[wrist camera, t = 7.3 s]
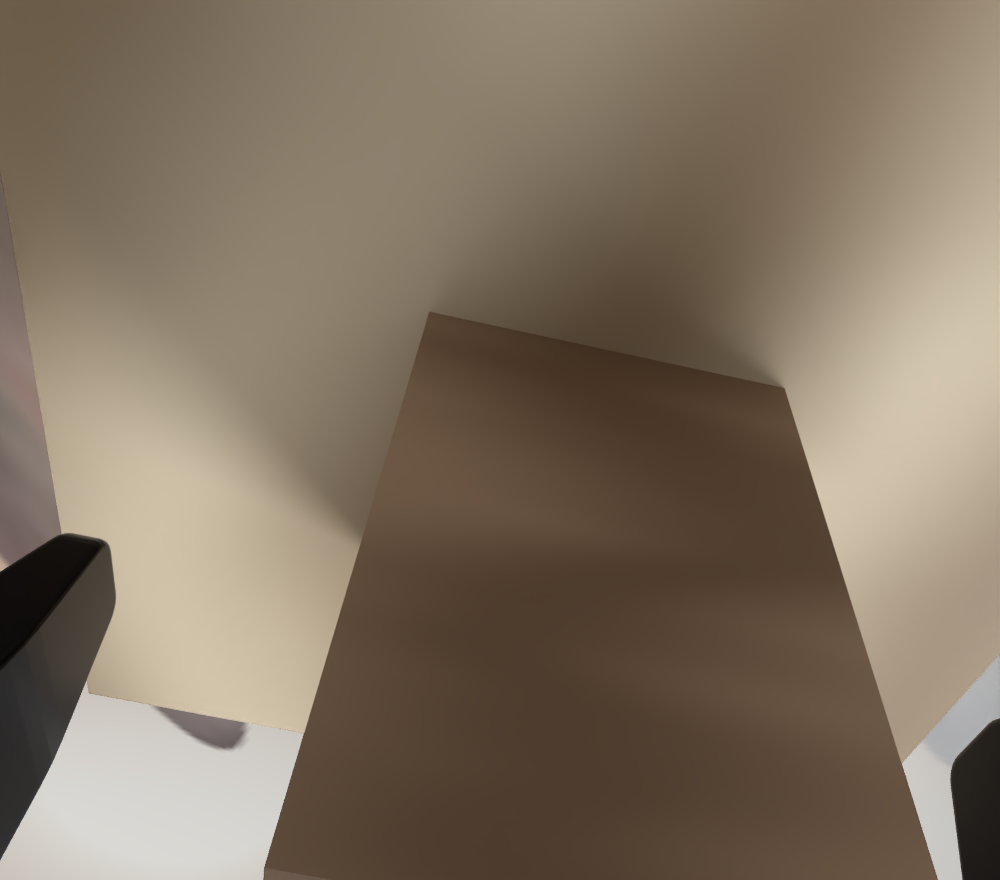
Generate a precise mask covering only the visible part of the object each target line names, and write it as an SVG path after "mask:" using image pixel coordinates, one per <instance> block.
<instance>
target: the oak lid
mask: <svg viewBox="0 0 1000 880" xmlns="http://www.w3.org/2000/svg"><path fill="white" fill-rule="evenodd" d="M0 172H1V178H2V184H3V190H4V195H5V201H6V207H7V213H8V219H9V225H10V231H11V237H12V243H13V249H14V254H15V260H16V266H17V272H18V278H19V284H20V290H21V296H22V302H23V308H24V313H25V319H26V325H27V331H28V337H29V343H30V349H31V355H32V361H33V367H34V372H35V378H36V384H37V390H38V396H39V402H40V408H41V414H42V420H43V426H44V431H45V437H46V443H47V449H48V455H49V461H50V467H51V473H52V479H53V485H54V490H55V496H56V502H57V508H58V514H59V520H60V526H61V532H62V534H64V533H74V534H79V535H84V536H90V537H95V538H100V539H102V540H105V541H106V542H107V543H108V545H109V546H110V550H111V556H112V564H113V572H114V581H115V589H116V604H115V609H114V613H113V616H112V619H111V622H110V624H109V626H108V629H107V631H106V634H105V636H104V639H103V641H102V644H101V646H100V649H99V651H98V653H97V656H96V658H95V661H94V663H93V666H92V668H91V671H90V673H89V676H88V678H87V685H88V691H89V693H90V694H95V695H100V696H107V697H111V698H116V699H123V700H127V701H133V702H138V703H143V704H149V705H154V706H159V707H165V708H170V709H176V710H181V711H186V712H192V713H197V714H202V715H208V716H213V717H219V718H224V719H229V720H235V721H240V722H245V723H251V724H256V725H262V726H267V727H272V728H278V729H283V730H288V731H294V732H299V733H304V736H303V739H302V742H301V746H300V749H299V753H298V756H297V759H296V762H295V766H294V769H293V773H292V776H291V779H290V783H289V786H288V790H287V793H286V796H285V799H284V803H283V806H282V810H281V813H280V817H279V820H278V823H277V827H276V830H275V833H274V837H273V840H272V843H271V847H270V850H269V853H268V857H267V860H266V864H265V867H264V880H938V879H937V875H936V872H935V869H934V866H933V863H932V859H931V856H930V853H929V850H928V847H927V843H926V840H925V837H924V834H923V830H922V827H921V824H920V821H919V818H918V814H917V812H916V808H915V805H914V802H913V798H912V795H911V792H910V789H909V786H908V782H907V779H906V776H905V773H904V770H903V766H902V763H903V761H904V760H905V759H906V758H907V757H908V756H909V755H910V754H911V752H912V751H913V750H914V749H915V748H916V747H917V746H918V745H919V744H920V743H921V741H922V740H923V739H924V738H925V737H926V736H927V735H928V734H929V732H930V731H931V730H932V729H933V728H934V727H935V726H936V725H937V724H938V722H939V721H940V720H941V719H942V718H943V717H944V716H945V715H946V714H947V712H948V711H949V710H950V709H951V708H952V707H953V706H954V705H955V704H956V702H957V701H958V700H959V699H960V698H961V697H962V696H963V695H964V693H965V692H966V691H967V690H968V689H969V688H970V687H971V686H972V685H973V683H974V682H975V681H976V680H977V679H978V678H979V677H980V676H981V675H982V673H983V672H984V671H985V670H986V669H987V668H988V667H989V666H990V665H991V663H992V662H993V661H994V660H995V659H996V658H997V657H998V656H999V654H1000V0H0Z"/></svg>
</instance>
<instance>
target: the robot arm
mask: <svg viewBox="0 0 1000 880" xmlns="http://www.w3.org/2000/svg"><path fill="white" fill-rule="evenodd" d="M115 604H116V589H115V581H114V572H113V564H112V556H111V550H110V546H109V545H108V543H107V542H106V541H105V540H102V539H100V538H95V537H90V536H84V535H79V534H74V533H64V534H61V535H58V536H56V537H54V538H53V539H51V540H50V541H48V542H46V543H45V544H43V545H42V546H40V547H38V548H37V549H35V550H34V551H32V552H31V553H29V554H27V555H26V556H24V557H23V558H21V559H20V560H18V561H16V562H15V563H13V564H12V565H10V566H8V567H7V568H5V569H4V570H2V571H1V572H0V860H1V858H2V856H3V854H4V852H5V850H6V849H7V847H8V845H9V843H10V841H11V839H12V838H13V836H14V834H15V832H16V830H17V828H18V826H19V825H20V823H21V821H22V819H23V817H24V815H25V814H26V812H27V810H28V808H29V806H30V804H31V802H32V801H33V799H34V797H35V795H36V793H37V791H38V790H39V788H40V786H41V784H42V782H43V780H44V778H45V776H46V774H47V772H48V770H49V768H50V766H51V764H52V762H53V760H54V758H55V755H56V753H57V751H58V748H59V746H60V744H61V742H62V739H63V737H64V734H65V732H66V730H67V727H68V724H69V722H70V720H71V717H72V715H73V712H74V710H75V707H76V705H77V702H78V700H79V698H80V695H81V693H82V690H83V688H84V685H85V683H86V680H87V678H88V676H89V673H90V671H91V668H92V666H93V663H94V661H95V658H96V656H97V653H98V651H99V649H100V646H101V644H102V641H103V639H104V636H105V634H106V631H107V629H108V626H109V624H110V622H111V619H112V616H113V613H114V609H115ZM951 791H952V799H953V807H954V814H955V823H956V831H957V839H958V847H959V855H960V863H961V871H962V879H963V880H1000V718H999V719H996V720H994V721H992V722H991V723H989V724H988V725H987V726H986V727H985V728H984V729H983V730H982V731H981V732H980V733H979V734H978V735H977V737H976V738H975V739H974V740H973V741H972V742H971V743H970V744H969V745H968V746H967V747H966V748H965V749H964V750H963V751H962V752H961V753H960V754H959V755H958V756H957V758H956V759H955V761H954V763H953V766H952V770H951Z"/></svg>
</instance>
